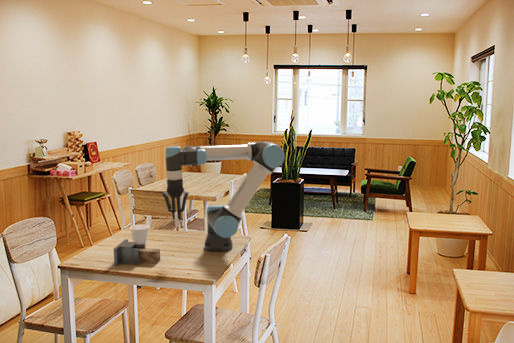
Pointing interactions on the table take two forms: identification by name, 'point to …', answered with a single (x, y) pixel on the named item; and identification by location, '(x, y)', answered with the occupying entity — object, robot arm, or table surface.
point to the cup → (139, 233)
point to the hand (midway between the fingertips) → (177, 225)
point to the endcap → (127, 253)
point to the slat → (149, 255)
